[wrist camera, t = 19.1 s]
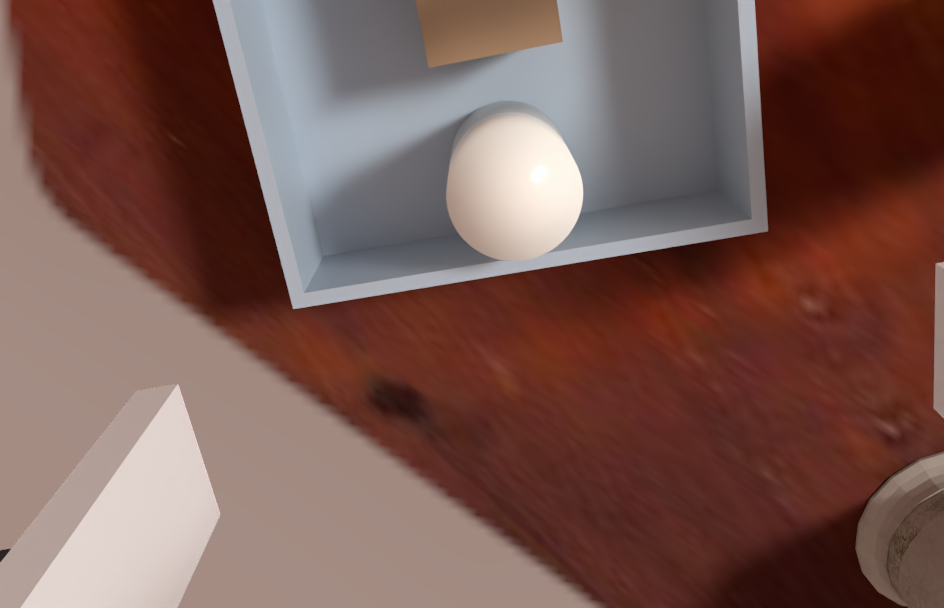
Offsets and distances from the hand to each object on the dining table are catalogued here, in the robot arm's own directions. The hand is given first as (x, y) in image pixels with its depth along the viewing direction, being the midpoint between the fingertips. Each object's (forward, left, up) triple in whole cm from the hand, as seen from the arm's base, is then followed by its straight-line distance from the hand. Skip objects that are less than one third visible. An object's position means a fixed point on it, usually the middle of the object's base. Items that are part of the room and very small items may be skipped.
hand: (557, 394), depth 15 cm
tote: (-3, 0, -25) cm, 26 cm away
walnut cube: (-7, 0, -25) cm, 26 cm away
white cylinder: (+1, 0, -25) cm, 25 cm away
